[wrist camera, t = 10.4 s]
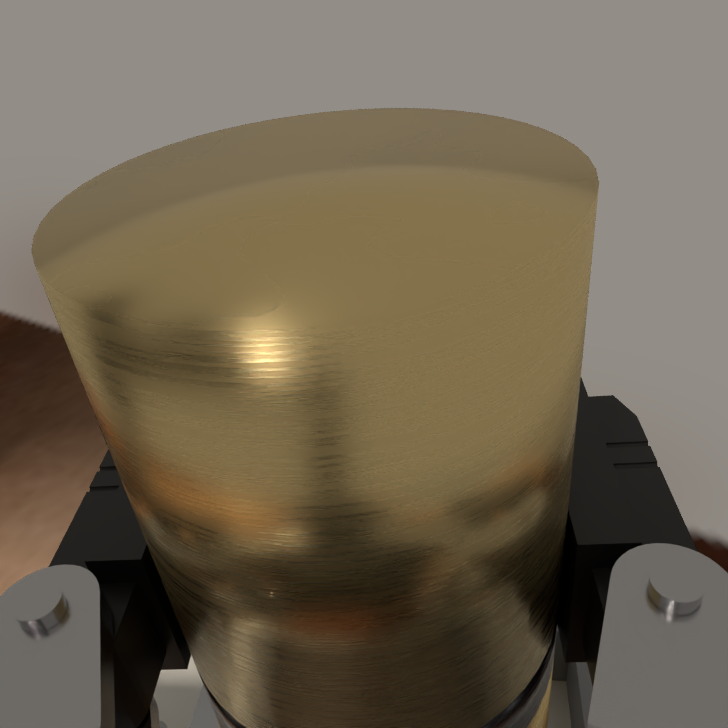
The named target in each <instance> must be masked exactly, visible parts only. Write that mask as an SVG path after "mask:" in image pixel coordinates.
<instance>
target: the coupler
mask: <svg viewBox="0 0 728 728" xmlns="http://www.w3.org/2000/svg"><path fill="white" fill-rule="evenodd" d="M598 187H599V181H598V176H597V172H596V169H595V167H594V165H593V164H592V162H591V161H590V159H589V157H588V156H586V155H585V154H584V153H583V152H582V151H581V150H580V149H579V148H578V147H577V146H575V145H574V144H572V143H571V142H569V141H567V140H566V139H564V138H563V137H561V136H558V135H556V134H554V133H552V132H549V131H547V130H545V129H542V128H539V127H536V126H533V125H530V124H527V123H523V122H520V121H515V120H511V119H507V118H503V117H498V116H492V115H486V114H480V113H471V112H464V111H454V110H439V109H418V108H416V109H415V108H380V109H359V110H345V111H333V112H323V113H314V114H305V115H298V116H292V117H284V118H278V119H272V120H267V121H262V122H256V123H250V124H245V125H241V126H237V127H232V128H228V129H223V130H219V131H216V132H211V133H208V134H204V135H201V136H196V137H193V138H190V139H187V140H183V141H181V142H177V143H174V144H170V145H168V146H165V147H162V148H159V149H156V150H154V151H151V152H148V153H145V154H143V155H141V156H138V157H136V158H133V159H131V160H129V161H126V162H124V163H122V164H120V165H118V166H116V167H113V168H111V169H110V170H107V171H105V172H103V173H102V174H100V175H98V176H96V177H94V178H93V179H91V180H89V181H88V182H86V183H84V184H82V185H81V186H80V187H78V188H77V189H75V190H74V191H73V192H71V193H70V194H68V195H67V196H66V197H65V198H63V200H61V201H60V202H59V203H58V204H57V205H55V206H54V207H53V209H51V210H50V212H49V213H48V214H47V215H46V217H45V218H44V219H43V220H42V221H41V223H40V225H39V227H38V229H37V231H36V233H35V235H34V238H33V244H32V255H33V259H34V264H35V267H36V269H37V272H38V274H39V276H40V279H41V282H42V284H43V287H44V289H45V292H46V294H47V297H48V299H49V302H50V304H51V307H52V309H53V311H54V314H55V317H56V319H57V322H58V324H59V327H60V329H61V332H62V334H63V336H64V339H65V341H66V344H67V346H68V349H69V351H70V354H71V356H72V359H73V361H74V364H75V366H76V369H77V371H78V374H79V376H80V379H81V381H82V384H83V386H84V389H85V391H86V394H87V396H88V399H89V401H90V404H91V406H92V409H93V411H94V414H95V416H96V419H97V421H98V424H99V426H100V429H101V431H102V434H103V436H104V439H105V441H106V444H107V446H108V449H109V451H110V454H111V456H112V458H113V461H114V463H115V466H116V468H117V471H118V473H119V476H120V478H121V481H122V483H123V486H124V488H125V491H126V493H127V496H128V498H129V501H130V503H131V506H132V508H133V511H134V513H135V516H136V518H137V521H138V523H139V526H140V528H141V531H142V533H143V536H144V538H145V541H146V543H147V546H148V548H149V551H150V553H151V556H152V558H153V561H154V563H155V566H156V568H157V571H158V573H159V576H160V578H161V581H162V583H163V585H164V588H165V590H166V593H167V595H168V598H169V600H170V603H171V605H172V608H173V610H174V613H175V615H176V618H177V620H178V623H179V625H180V628H181V630H182V633H183V635H184V638H185V640H186V643H187V645H188V648H189V650H190V653H191V655H192V658H193V660H194V663H195V665H196V668H197V670H198V673H199V675H200V678H201V680H202V683H203V685H204V688H205V690H206V693H207V695H208V698H209V700H210V703H211V705H212V708H213V710H214V712H215V715H216V717H217V720H218V722H219V725H220V727H221V728H547V725H548V715H549V704H550V694H551V683H552V673H553V662H554V652H555V641H556V631H557V620H558V610H559V599H560V588H561V578H562V567H563V557H564V546H565V536H566V525H567V515H568V504H569V494H570V483H571V472H572V462H573V451H574V441H575V430H576V420H577V409H578V399H579V388H580V378H581V366H582V357H583V346H584V345H583V344H584V335H585V325H586V314H587V303H588V293H589V282H590V272H591V262H592V250H593V241H594V230H595V219H596V209H597V198H598Z"/></svg>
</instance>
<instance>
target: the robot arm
mask: <svg viewBox="0 0 728 728" xmlns="http://www.w3.org/2000/svg"><path fill="white" fill-rule="evenodd" d="M557 627H558V631H559V636H560V641H561V645H562V650H563V655H564V659H565V663H569V662H587V665H588V669H589V673H590V678H591V682H592V686H593V691H592V697H591V704H590V710H589V716H588V723H587V728H728V573H727V572H726V571H725V570H724V569H723V568H721V567H720V566H719V565H718V564H717V563H715V562H714V561H713V560H711V559H710V558H708V557H706V556H704V555H703V554H701V553H699V552H698V550H697V549H696V547H695V545H694V543H693V541H692V538H691V536H690V534H689V532H688V529H687V527H686V525H685V523H684V520H683V518H682V516H681V514H680V512H679V509H678V507H677V505H676V503H675V501H674V498H673V496H672V494H671V492H670V489H669V487H668V485H667V483H666V480H665V478H664V476H663V474H662V471H661V469H660V467H658V466H657V460H656V458H655V456H654V454H653V451H652V449H651V447H650V446H648V440H647V438H646V436H645V434H644V431H643V429H642V427H641V425H640V422H639V420H638V418H637V416H636V415H635V414H634V413H633V412H631V411H630V410H629V409H628V408H627V407H626V406H625V405H623V404H622V403H621V402H620V401H619V400H618V399H617V398H615V397H614V396H613V395H612V396H596V397H588V395H587V392H586V389H585V387H584V384H583V381H582V378H580V388H579V399H578V409H577V420H576V430H575V441H574V451H573V462H572V472H571V483H570V494H569V504H568V515H567V525H566V536H565V546H564V557H563V567H562V578H561V588H560V599H559V610H558V620H557ZM190 657H191V653H190V650H189V648H188V645H187V643H186V640H185V638H184V635H183V633H182V630H181V628H180V625H179V623H178V620H177V618H176V615H175V613H174V610H173V608H172V605H171V603H170V600H169V598H168V595H167V593H166V590H165V588H164V585H163V583H162V581H161V578H160V576H159V573H158V571H157V568H156V566H155V563H154V561H153V558H152V556H151V553H150V551H149V548H148V546H147V543H146V541H145V538H144V536H143V533H142V531H141V528H140V526H139V523H138V521H137V518H136V516H135V513H134V511H133V508H132V506H131V503H130V501H129V498H128V496H127V493H126V491H125V488H124V486H123V483H122V481H121V478H120V476H119V473H118V471H117V468H116V466H115V463H114V461H113V458H112V456H111V454H110V451H109V450H108V452H107V453H106V455H105V457H104V459H103V461H102V463H101V465H100V472H97V473H96V475H95V477H94V479H93V481H92V483H91V485H90V492H87V493H86V495H85V497H84V499H83V501H82V503H81V505H80V506H79V508H78V510H77V512H76V514H75V516H74V518H73V520H72V522H71V524H70V526H69V528H68V530H67V532H66V534H65V536H64V538H63V540H62V542H61V544H60V546H59V548H58V550H57V552H56V554H55V556H54V558H53V559H52V561H51V563H50V565H49V567H47V568H44V569H41V570H38V571H36V572H33V573H31V574H29V575H27V576H25V577H24V578H22V579H21V580H19V581H17V582H16V583H15V584H13V585H12V586H11V587H10V588H8V589H7V590H6V591H5V592H4V593H3V594H2V595H1V596H0V728H160V723H159V711H158V706H157V703H156V700H155V698H154V696H153V695H154V692H155V688H156V685H157V682H158V678H159V675H160V672H161V670H177V669H188V665H189V661H190Z"/></svg>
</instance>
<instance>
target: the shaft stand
mask: <svg viewBox="0 0 728 728" xmlns="http://www.w3.org/2000/svg"><path fill="white" fill-rule="evenodd" d="M592 691H593V686H592V682H591V678H590V673H589V669H588V665H587V662H569V663H565V659H564V655H563V650H562V645H561V641H560V636H559V631H558V627H557V631H556V641H555V652H554V662H553V673H552V683H551V694H550V704H549V715H548V725H547V728H587V723H588V716H589V710H590V704H591V697H592ZM153 696H154V698H155V700H156V703H157V706H158V711H159V723H160V728H221V727H220V725H219V722H218V720H217V717H216V715H215V712H214V710H213V708H212V705H211V703H210V700H209V698H208V695H207V693H206V690H205V688H204V685H203V683H202V680H201V678H200V675H199V673H198V670H197V668H196V665H195V663H194V660H193V658H192V655H191V657H190V661H189V665H188V669H177V670H161V672H160V675H159V678H158V682H157V685H156V688H155V692H154V695H153Z"/></svg>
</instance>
